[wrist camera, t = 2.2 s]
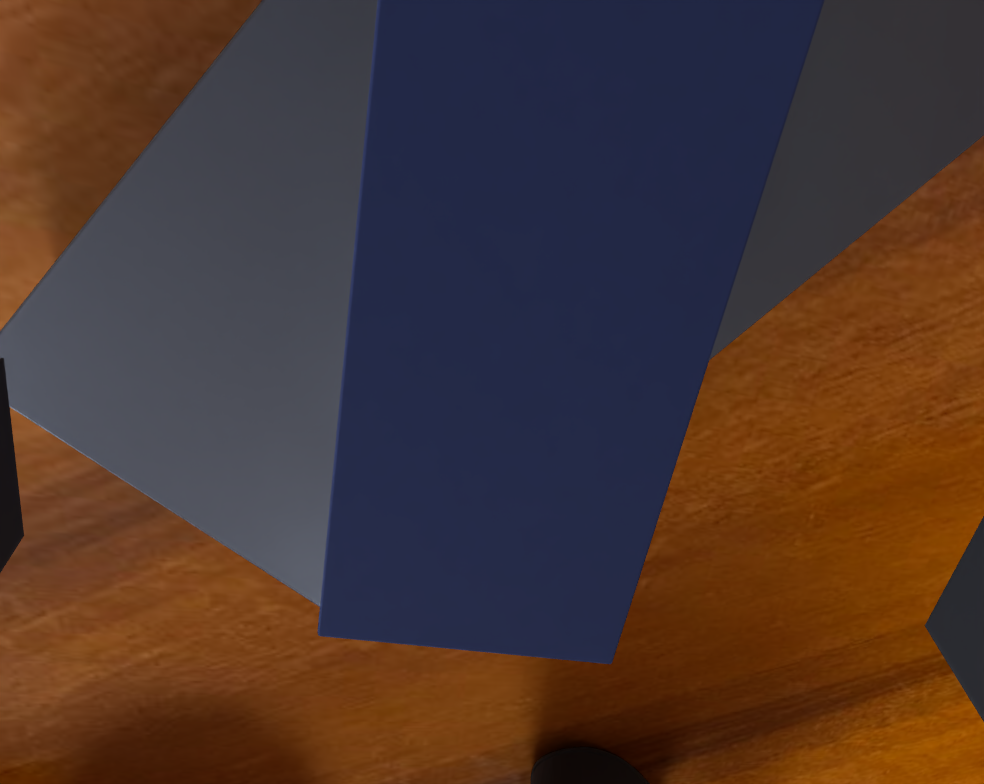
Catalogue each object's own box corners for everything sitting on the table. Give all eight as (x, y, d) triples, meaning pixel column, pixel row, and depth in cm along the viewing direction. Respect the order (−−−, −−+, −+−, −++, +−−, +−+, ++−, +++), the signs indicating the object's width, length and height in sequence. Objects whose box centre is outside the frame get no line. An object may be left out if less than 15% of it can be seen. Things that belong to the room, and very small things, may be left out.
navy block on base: (409, -140, 18) (372, -139, 11) (696, -87, 19) (857, -47, 11) (350, 436, 25) (301, 692, 18) (562, 462, 26) (604, 719, 18)
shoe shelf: (670, -488, 21) (748, -614, 15) (987, -19, 26) (1132, 15, 20) (56, 279, 30) (-38, 378, 24) (384, 514, 35) (369, 640, 29)
